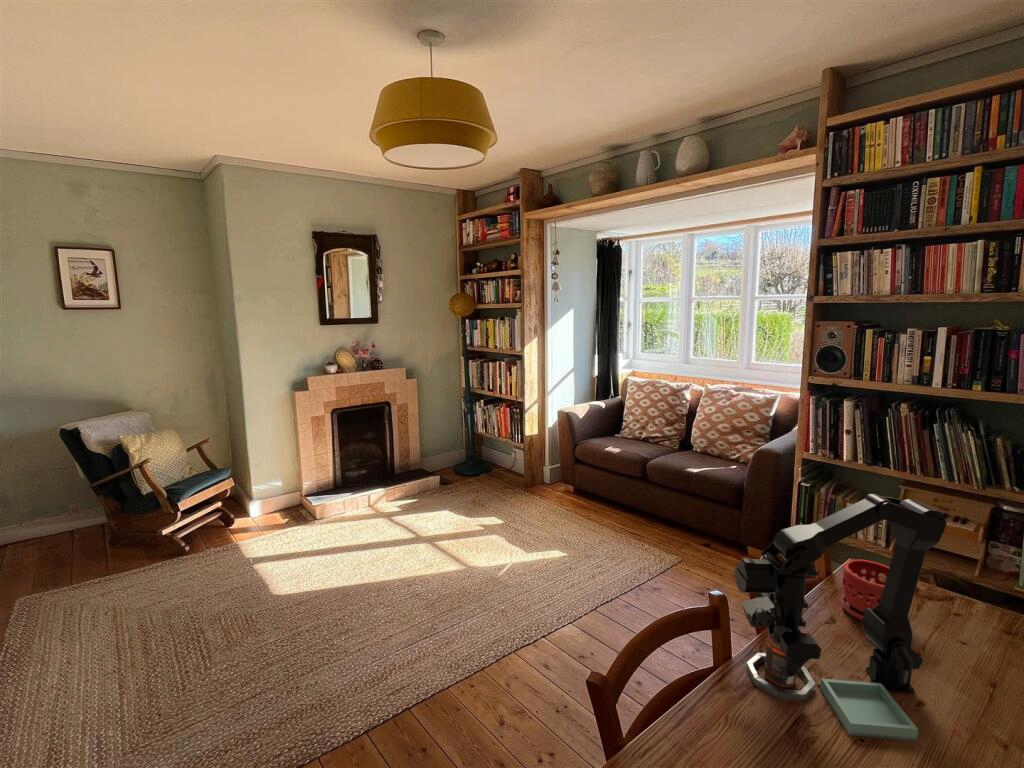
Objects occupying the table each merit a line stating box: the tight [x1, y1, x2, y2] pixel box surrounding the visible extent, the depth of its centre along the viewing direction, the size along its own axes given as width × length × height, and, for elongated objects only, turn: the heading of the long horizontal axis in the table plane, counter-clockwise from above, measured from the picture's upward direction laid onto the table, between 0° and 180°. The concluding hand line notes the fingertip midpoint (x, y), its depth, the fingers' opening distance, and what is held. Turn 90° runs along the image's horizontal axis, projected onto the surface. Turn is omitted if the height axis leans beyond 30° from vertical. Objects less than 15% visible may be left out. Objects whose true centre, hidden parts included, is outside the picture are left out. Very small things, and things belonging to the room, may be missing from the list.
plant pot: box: [840, 559, 890, 621], centre depth 134 cm, size 13×13×12 cm
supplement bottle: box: [764, 626, 797, 688], centre depth 111 cm, size 6×6×11 cm
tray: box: [819, 678, 919, 742], centre depth 103 cm, size 12×12×2 cm
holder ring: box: [746, 652, 816, 702], centre depth 112 cm, size 12×12×2 cm
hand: (781, 659), depth 111 cm, fingers open, 9 cm apart
